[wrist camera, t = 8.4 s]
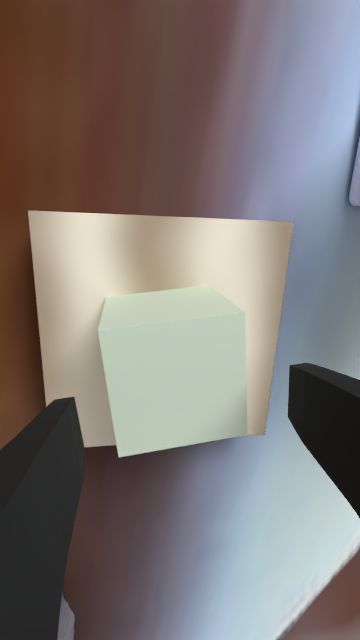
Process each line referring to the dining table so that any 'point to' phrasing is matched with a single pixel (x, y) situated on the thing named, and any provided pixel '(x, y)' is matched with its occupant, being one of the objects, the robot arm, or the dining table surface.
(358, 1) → the dining table surface
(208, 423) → the green block
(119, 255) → the beige panel
